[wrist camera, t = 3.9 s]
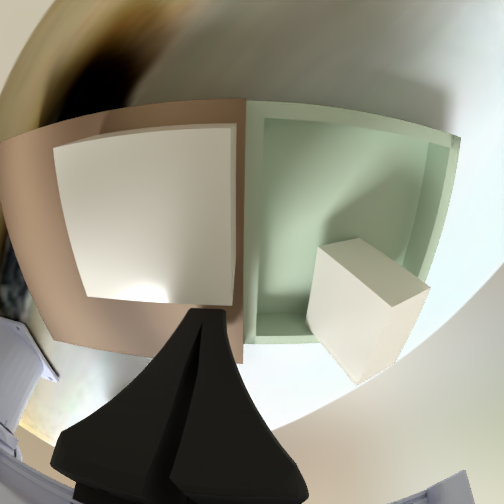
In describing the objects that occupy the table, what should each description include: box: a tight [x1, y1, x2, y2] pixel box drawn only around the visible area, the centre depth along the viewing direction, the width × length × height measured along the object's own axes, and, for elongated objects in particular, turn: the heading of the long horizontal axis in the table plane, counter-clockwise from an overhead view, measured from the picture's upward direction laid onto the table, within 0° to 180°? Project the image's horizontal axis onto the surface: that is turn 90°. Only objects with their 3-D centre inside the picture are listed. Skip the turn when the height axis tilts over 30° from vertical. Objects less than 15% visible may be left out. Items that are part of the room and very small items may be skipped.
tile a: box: [305, 238, 431, 386], centre depth 11 cm, size 4×4×2 cm
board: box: [0, 99, 246, 364], centre depth 11 cm, size 11×11×4 cm
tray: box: [243, 101, 461, 344], centre depth 12 cm, size 9×11×2 cm
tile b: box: [53, 123, 237, 306], centre depth 7 cm, size 4×4×2 cm
